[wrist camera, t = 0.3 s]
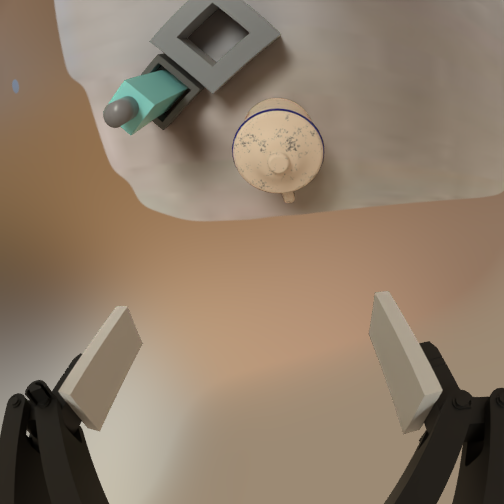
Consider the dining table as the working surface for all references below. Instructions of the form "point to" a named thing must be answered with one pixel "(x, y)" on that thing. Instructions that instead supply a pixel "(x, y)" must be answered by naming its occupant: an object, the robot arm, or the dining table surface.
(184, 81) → the frame
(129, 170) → the dining table surface
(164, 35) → the port panel
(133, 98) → the aqua plug
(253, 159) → the teacup with lid
